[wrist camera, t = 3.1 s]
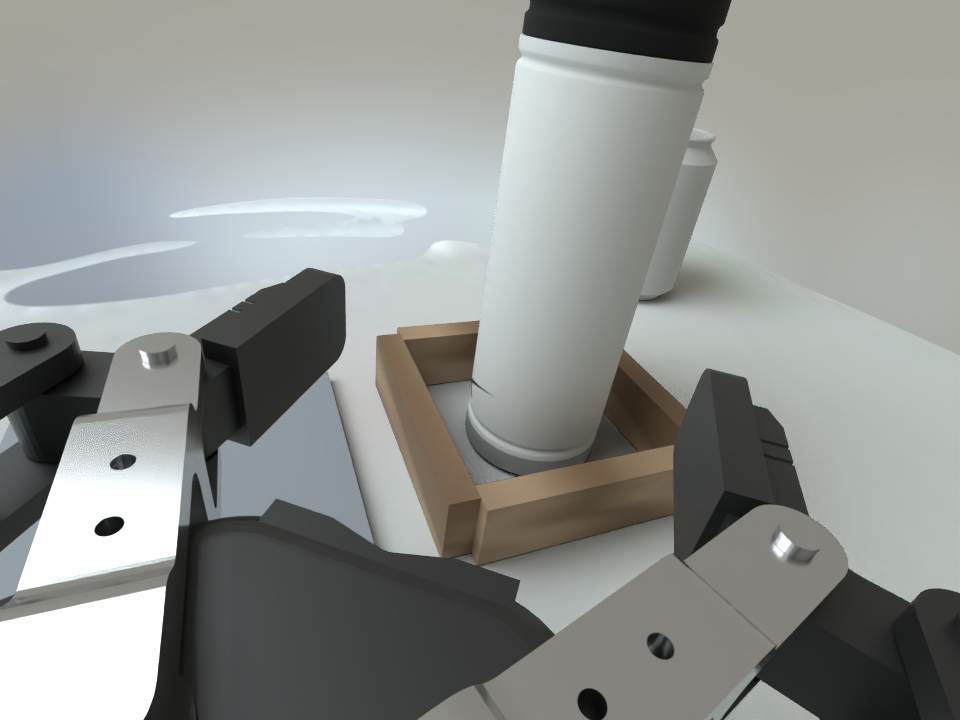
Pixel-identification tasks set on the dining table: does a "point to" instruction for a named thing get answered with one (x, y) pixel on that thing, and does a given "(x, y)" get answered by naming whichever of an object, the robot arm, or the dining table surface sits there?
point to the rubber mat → (263, 474)
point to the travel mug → (580, 214)
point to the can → (681, 214)
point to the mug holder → (530, 498)
